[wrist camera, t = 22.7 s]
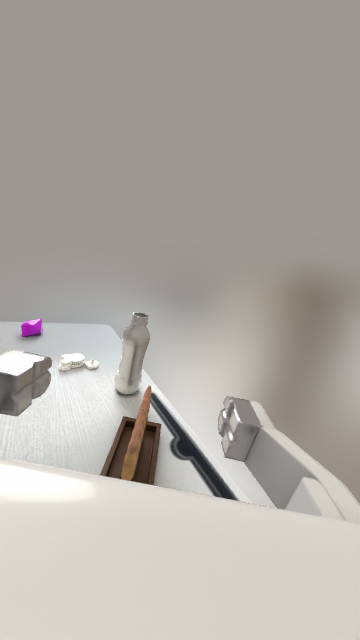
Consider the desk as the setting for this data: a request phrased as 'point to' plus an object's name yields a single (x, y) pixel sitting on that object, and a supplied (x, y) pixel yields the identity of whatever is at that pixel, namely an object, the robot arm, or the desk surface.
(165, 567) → the robot arm
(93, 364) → the white lobed figurine
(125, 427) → the tray
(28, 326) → the crystal
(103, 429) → the desk surface
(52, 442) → the desk surface
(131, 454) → the ammunition clip
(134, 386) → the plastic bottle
